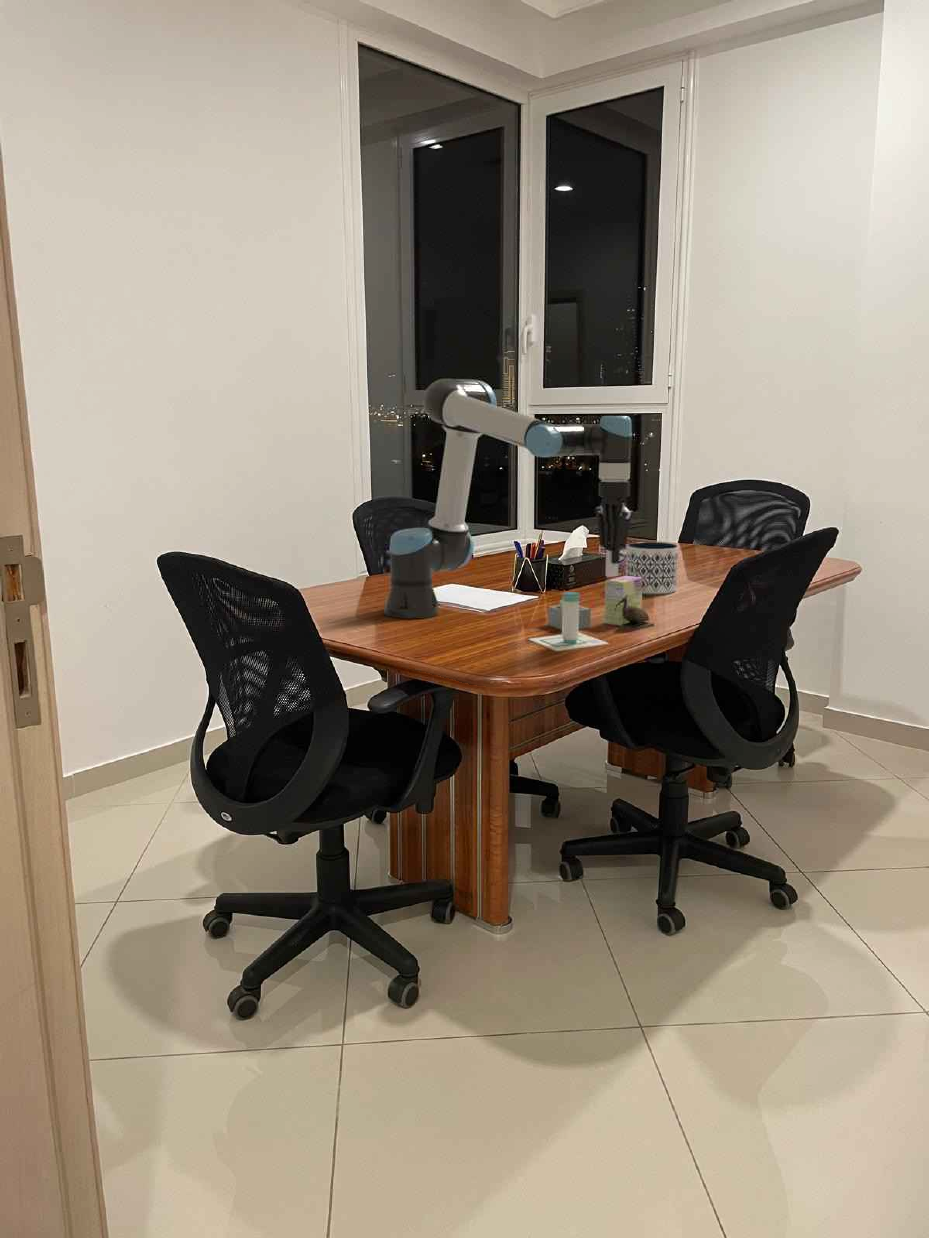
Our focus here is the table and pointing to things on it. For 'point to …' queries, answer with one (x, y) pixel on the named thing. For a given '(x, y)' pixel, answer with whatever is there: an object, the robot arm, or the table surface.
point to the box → (621, 597)
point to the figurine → (634, 618)
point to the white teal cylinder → (570, 617)
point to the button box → (556, 617)
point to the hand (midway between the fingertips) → (611, 575)
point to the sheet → (559, 645)
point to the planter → (653, 566)
